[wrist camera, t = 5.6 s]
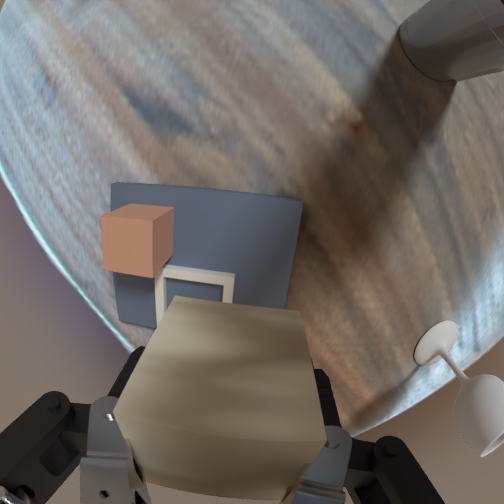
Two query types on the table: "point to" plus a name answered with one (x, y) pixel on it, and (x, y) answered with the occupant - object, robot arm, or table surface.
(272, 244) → the grey board
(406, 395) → the table surface
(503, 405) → the wineglass
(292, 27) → the table surface
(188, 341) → the birch block
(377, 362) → the table surface
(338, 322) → the table surface
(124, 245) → the terracotta block
